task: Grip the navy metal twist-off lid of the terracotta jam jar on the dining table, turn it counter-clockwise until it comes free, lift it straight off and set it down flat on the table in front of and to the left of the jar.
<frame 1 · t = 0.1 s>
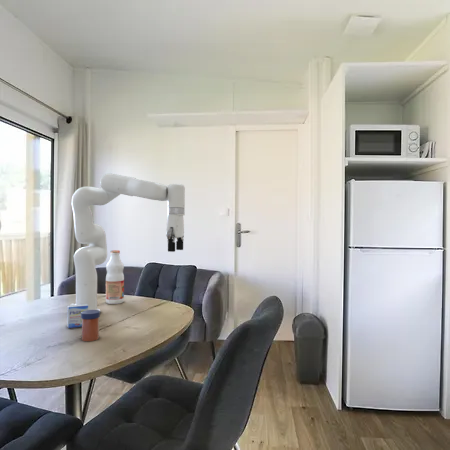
hand: (175, 250, 164), 31 cm above the table, tool pointing down, fingers open, 9 cm apart
medicine box: (77, 326, 155), on the table
jam lid: (90, 312, 138), point 10 cm above the table, screwed on, not yet turned
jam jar: (90, 338, 139), on the table
fruit juice: (114, 302, 200), on the table
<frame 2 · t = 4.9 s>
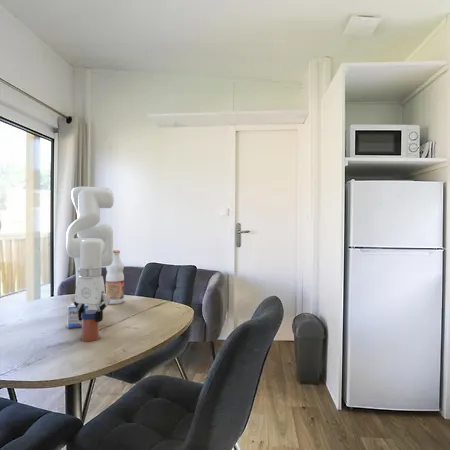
hand: (90, 320, 138), 7 cm above the table, tool pointing down, fingers closed on jam lid, 6 cm apart
jam lid: (90, 312, 138), point 10 cm above the table, screwed on, not yet turned, touching gripper
everything else where it was.
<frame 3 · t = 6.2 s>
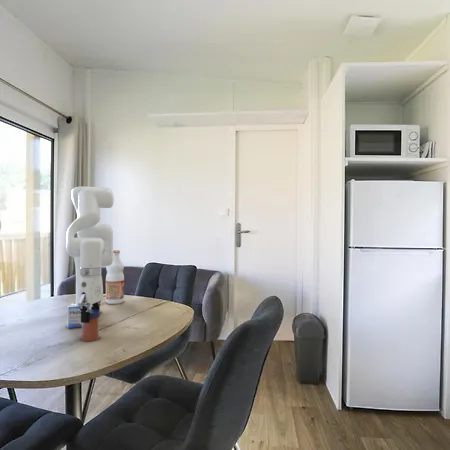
hand: (90, 319, 138), 7 cm above the table, tool pointing down, fingers closed on jam lid, 6 cm apart
jam lid: (90, 312, 138), point 10 cm above the table, turned 96° so far, risen 0.3 cm, still on its thread, touching gripper
everything else where it was.
when the fingers open (6 cm above the table, at t = 7.3 s): jam lid stays where it is, point 10 cm above the table.
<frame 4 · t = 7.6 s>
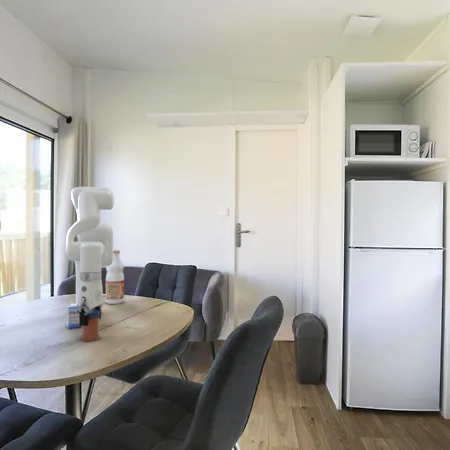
hand: (90, 322, 139), 6 cm above the table, tool pointing down, fingers open, 9 cm apart
jam lid: (90, 312, 138), point 10 cm above the table, turned 98° so far, risen 0.3 cm, still on its thread
everything else where it was.
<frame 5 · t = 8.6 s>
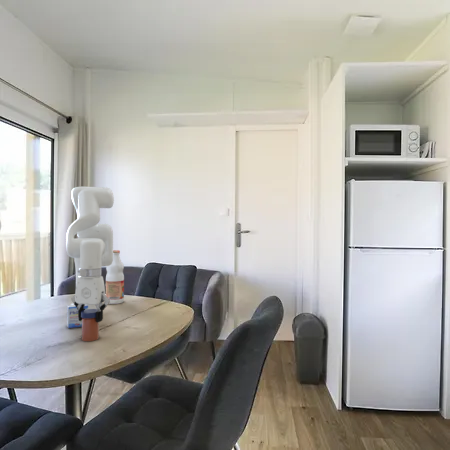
hand: (90, 320, 138), 7 cm above the table, tool pointing down, fingers closed on jam lid, 6 cm apart
jam lid: (90, 312, 138), point 10 cm above the table, turned 98° so far, risen 0.3 cm, still on its thread, touching gripper
everything else where it was.
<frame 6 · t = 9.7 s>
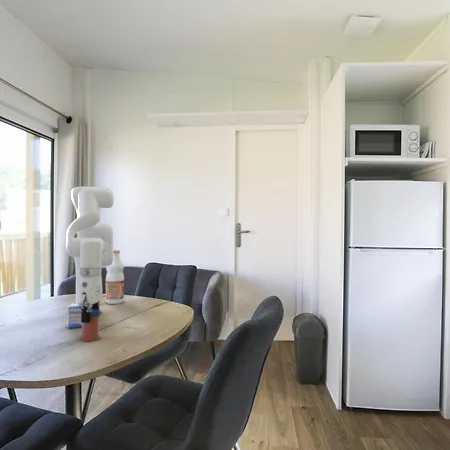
hand: (90, 319, 138), 7 cm above the table, tool pointing down, fingers closed on jam lid, 6 cm apart
jam lid: (90, 311, 138), point 10 cm above the table, off its thread, touching gripper
everything else where it was.
when the fingers open (1 cm above the table, at t = 17.7 s): jam lid drops 3 cm, point 1 cm above the table.
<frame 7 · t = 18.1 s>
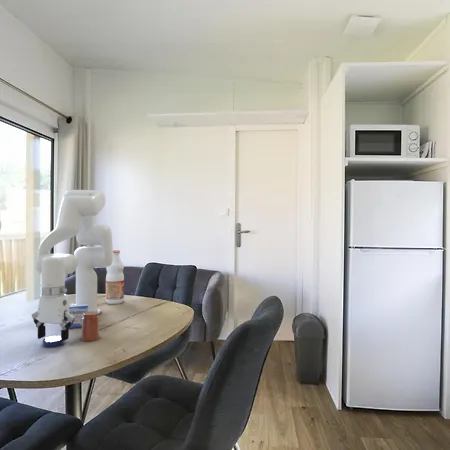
hand: (53, 338, 132), 2 cm above the table, tool pointing down, fingers open, 9 cm apart
jam lid: (53, 339, 132), point 1 cm above the table, off its thread
everything else where it was.
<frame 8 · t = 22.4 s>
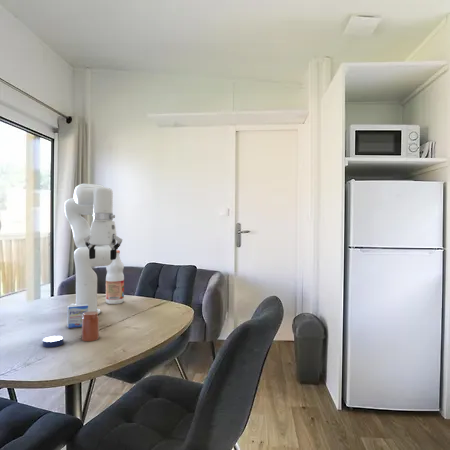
hand: (102, 259, 153), 28 cm above the table, tool pointing down, fingers open, 9 cm apart
nothing on the table moved.
at the end: jam lid came off its thread; jam lid point 1.5 cm above the table; the gripper is holding nothing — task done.
